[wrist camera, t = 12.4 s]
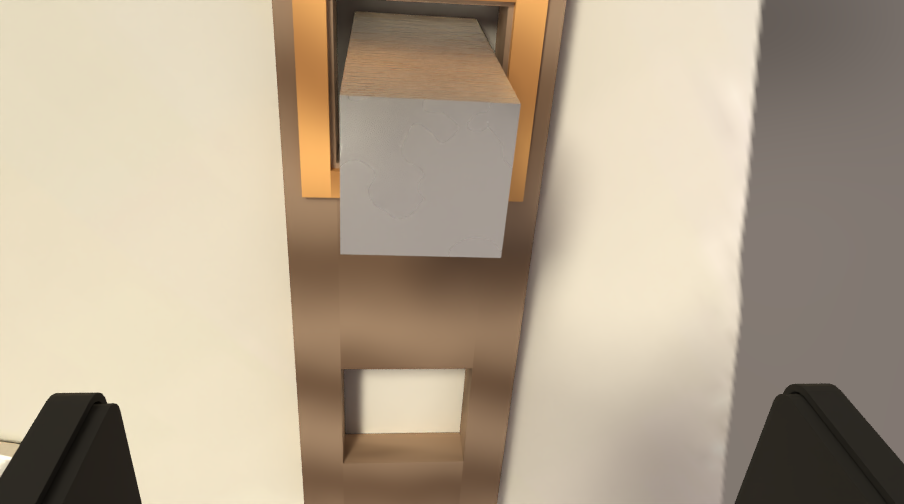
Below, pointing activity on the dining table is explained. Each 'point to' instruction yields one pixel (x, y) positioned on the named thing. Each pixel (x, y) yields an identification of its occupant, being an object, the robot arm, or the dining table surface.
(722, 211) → the dining table surface
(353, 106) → the square peg
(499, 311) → the board
